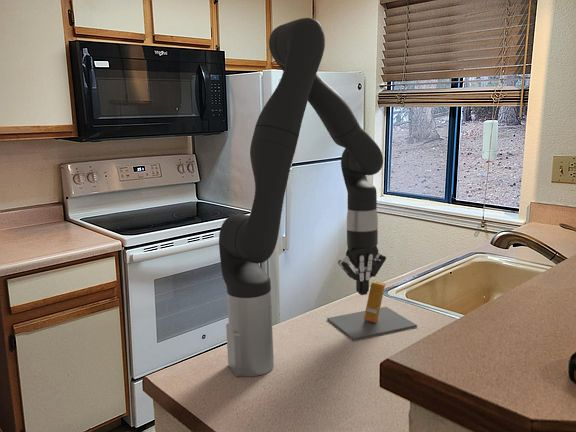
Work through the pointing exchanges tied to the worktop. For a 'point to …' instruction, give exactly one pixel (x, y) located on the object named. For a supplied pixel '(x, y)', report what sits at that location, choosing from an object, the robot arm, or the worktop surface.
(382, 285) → the supplement box
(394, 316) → the mat
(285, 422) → the worktop surface
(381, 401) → the worktop surface
